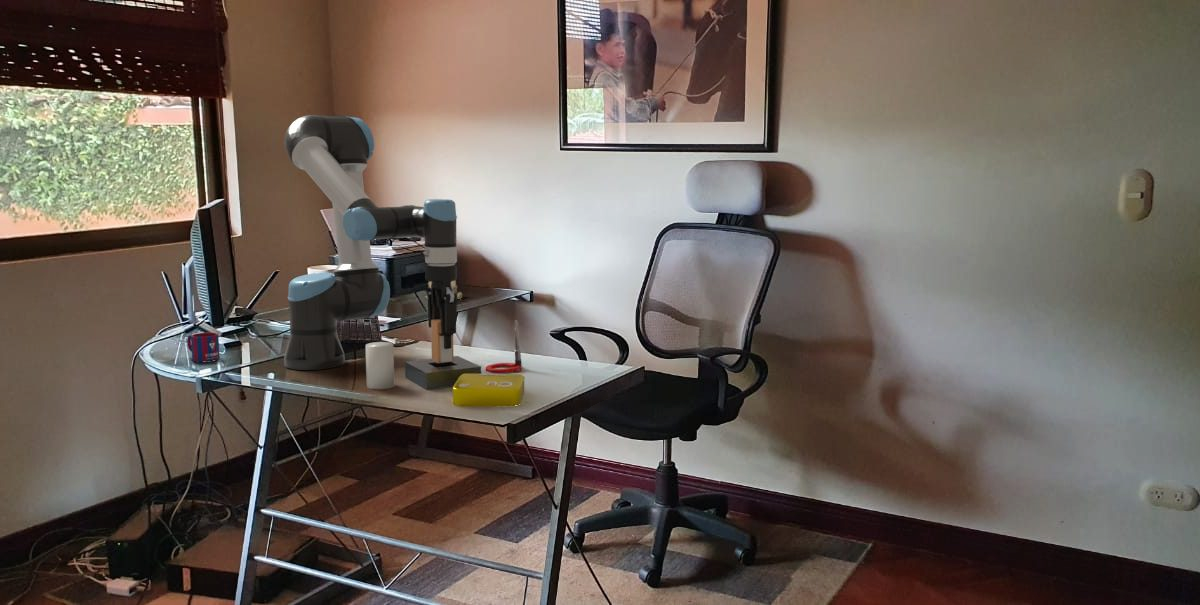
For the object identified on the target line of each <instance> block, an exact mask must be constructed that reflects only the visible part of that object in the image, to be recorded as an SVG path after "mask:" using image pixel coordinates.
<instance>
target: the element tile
mask: <svg viewBox="0 0 1200 605" xmlns="http://www.w3.org/2000/svg"><path fill="white" fill-rule="evenodd" d="M451 388H452V390H451V392H452V406H455V407H481V408H482V407H488V408H489V407H493V408H494V407H496V406H515V405H519V404H520V403H521V404H522V401H523V398H524V395H525V376H524V375H523V374H521V373H520V374H519V373H491V372H489V373H481V374H462V375H461V376H460V377H459V378H458V380H457V381H456V383H455V385H454V386H452V387H451ZM521 400H522V401H521ZM521 404H520V405H521ZM520 405H519V406H520ZM515 407H516V406H515Z"/></svg>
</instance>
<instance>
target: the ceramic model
mask: <svg viewBox="0 0 1200 605" xmlns="http://www.w3.org/2000/svg"><path fill="white" fill-rule="evenodd" d="M431 284H432V282H430V281H428V283H427V285H428V287H427V288H431ZM451 288H452V293H456V294H457V299H460V300H462V299H463V293H462V292H461V291H458V290H457V289H458V288H459V287H458V285H457V279H456V280H455V281H452V282H451ZM425 297H426V298H428V297H427V294H426V295H425V296H424V298H425ZM461 298H462V299H461Z"/></svg>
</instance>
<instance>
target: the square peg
mask: <svg viewBox="0 0 1200 605" xmlns="http://www.w3.org/2000/svg"><path fill="white" fill-rule="evenodd" d="M430 332H431V333H430V335H431V337H430V338H431V340H430V341H431V343H430V344H431V359H432V361H434V362H436V363H445V362H441V356H440V336H439V334H441V333H442V331H441V320H440V319H435V320H431V328H430ZM453 356H454V334H453V335H452V361H449V362H454V357H453Z"/></svg>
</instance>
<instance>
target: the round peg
mask: <svg viewBox="0 0 1200 605" xmlns="http://www.w3.org/2000/svg"><path fill="white" fill-rule="evenodd" d="M394 355H395V354H394V343H392V342H387V341H376V342H369V343H366V344H365V371H366V372H365V373H366V374H365V375H366V376H365V377H366V388H367V389H371V390H386V389H387V390H388V389H391V388H393V387H395V361H394V360H395V356H394Z"/></svg>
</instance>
